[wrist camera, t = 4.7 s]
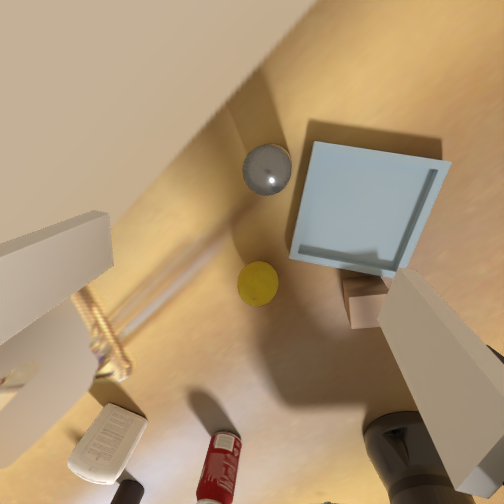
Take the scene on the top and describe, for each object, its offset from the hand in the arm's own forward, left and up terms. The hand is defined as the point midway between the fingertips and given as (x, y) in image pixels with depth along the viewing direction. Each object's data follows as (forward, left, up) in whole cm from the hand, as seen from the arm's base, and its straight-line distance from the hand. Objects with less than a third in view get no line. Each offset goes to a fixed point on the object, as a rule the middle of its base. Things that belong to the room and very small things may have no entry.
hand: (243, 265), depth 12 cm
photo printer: (+24, +55, -25) cm, 65 cm away
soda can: (+1, +55, -25) cm, 60 cm away
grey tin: (+1, -2, -24) cm, 25 cm away
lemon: (0, +13, -25) cm, 28 cm away
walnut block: (-15, +13, -25) cm, 32 cm away
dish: (-11, +2, -24) cm, 27 cm away
